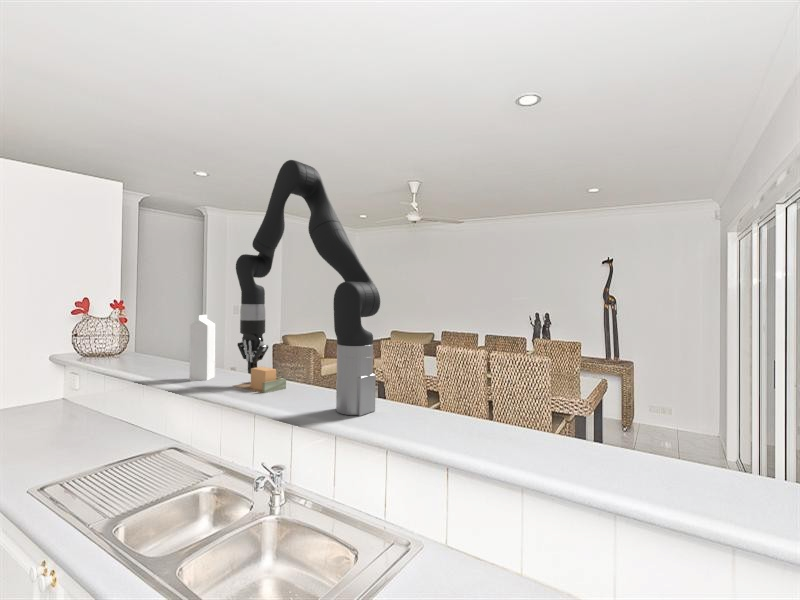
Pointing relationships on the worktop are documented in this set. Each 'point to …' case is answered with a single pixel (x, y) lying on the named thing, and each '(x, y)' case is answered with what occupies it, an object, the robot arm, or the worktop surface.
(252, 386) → the block
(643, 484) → the worktop surface
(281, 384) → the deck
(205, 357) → the milk
